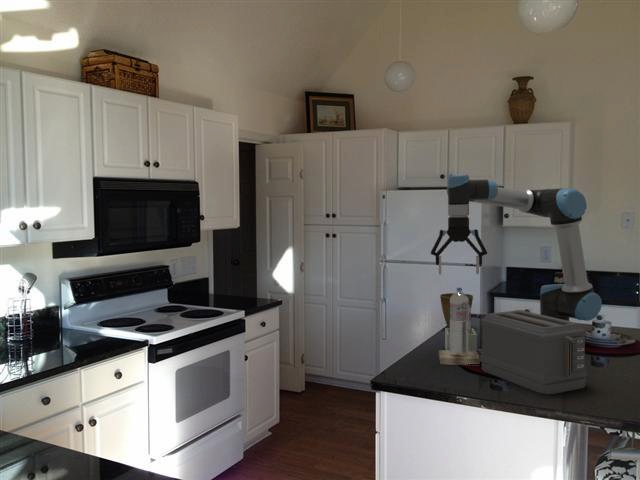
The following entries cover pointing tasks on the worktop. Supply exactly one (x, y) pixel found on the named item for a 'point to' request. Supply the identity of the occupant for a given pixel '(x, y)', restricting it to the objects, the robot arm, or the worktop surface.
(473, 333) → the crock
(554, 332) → the toaster
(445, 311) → the plant pot
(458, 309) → the water bottle
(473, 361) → the board
